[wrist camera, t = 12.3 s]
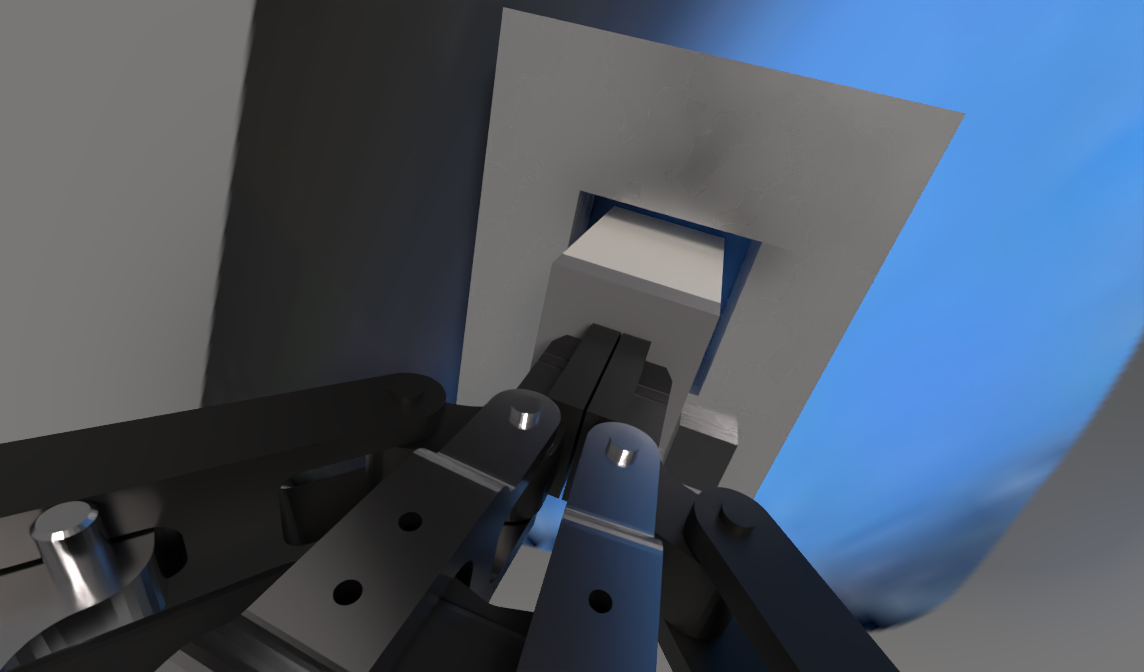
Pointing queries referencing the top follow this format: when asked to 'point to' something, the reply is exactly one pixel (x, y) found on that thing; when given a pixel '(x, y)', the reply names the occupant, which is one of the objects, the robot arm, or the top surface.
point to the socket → (693, 214)
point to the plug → (640, 293)
